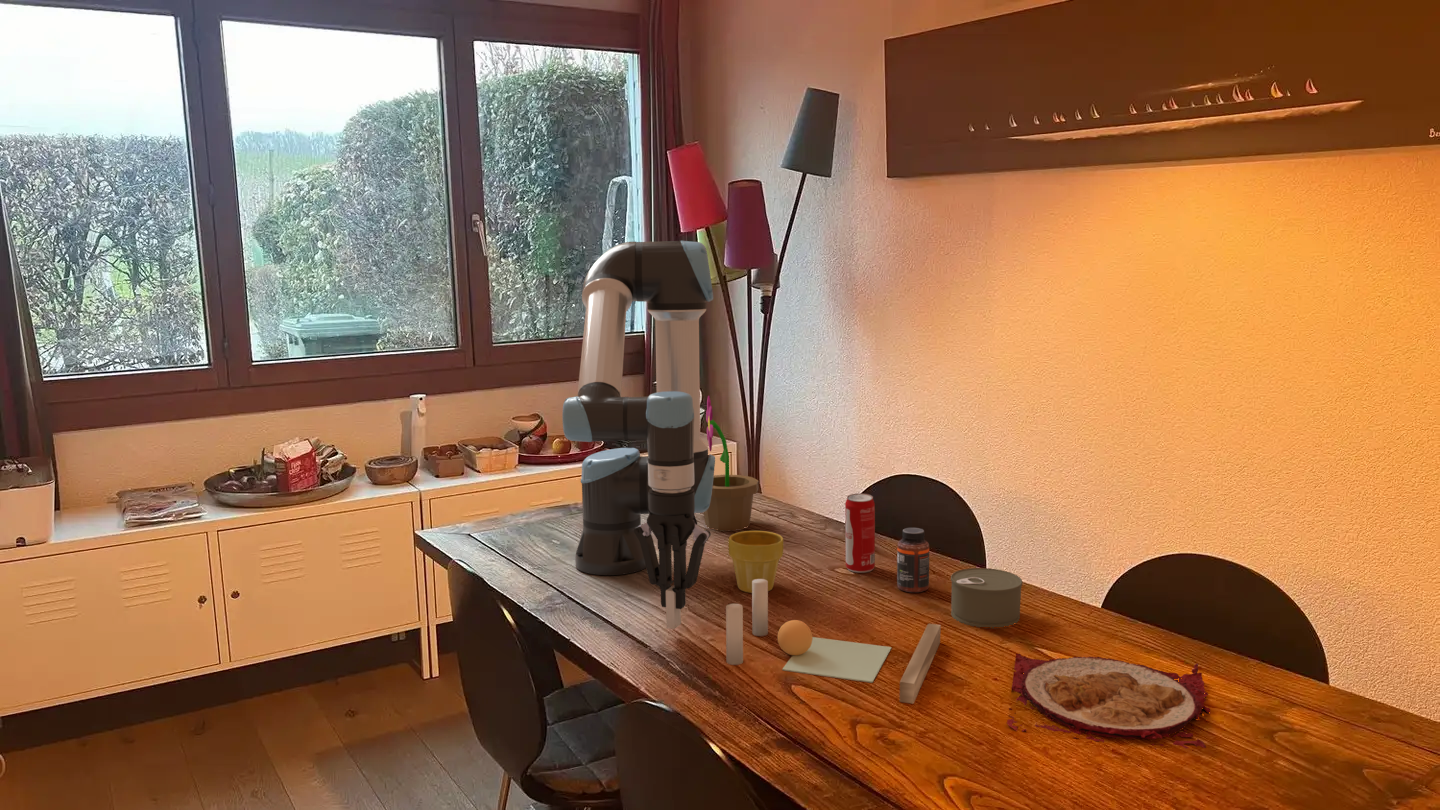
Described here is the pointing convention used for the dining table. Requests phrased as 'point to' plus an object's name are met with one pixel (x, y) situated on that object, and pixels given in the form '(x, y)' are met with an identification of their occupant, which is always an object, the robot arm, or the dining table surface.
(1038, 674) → the plate with food
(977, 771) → the dining table surface
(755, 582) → the post
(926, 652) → the wall
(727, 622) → the post
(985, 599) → the can
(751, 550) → the plant pot
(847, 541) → the beverage can
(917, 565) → the supplement bottle
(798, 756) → the dining table surface
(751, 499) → the flowerpot
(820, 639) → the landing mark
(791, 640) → the ball
